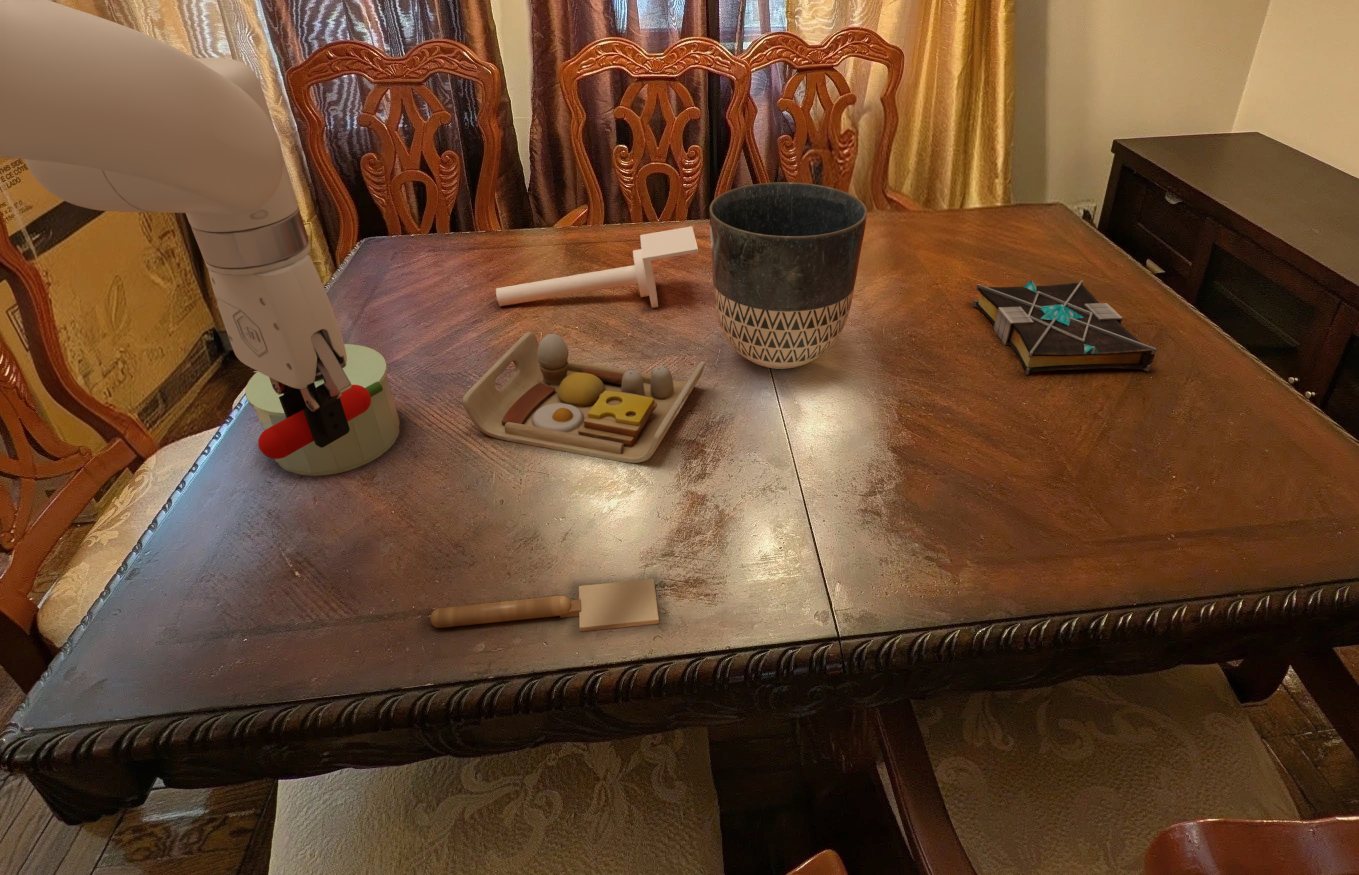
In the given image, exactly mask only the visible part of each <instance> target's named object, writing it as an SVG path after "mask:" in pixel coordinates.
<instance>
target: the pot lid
mask: <svg viewBox="0 0 1359 875" xmlns="http://www.w3.org/2000/svg"><path fill="white" fill-rule="evenodd" d="M344 346H345V350H346V355H347V364H346V366H345V367H344V368H342V369H343V370H344V372H345V374H346V376H347V377H348V379H349V381H350V382H351V385H360V386H362V387H364V388H366V387H368V386H369V385H371V384H373V383H375V382H379V383H380V384H381V382H382V381H383V380H384V378H385V376H386V374H387V373H388V364H387V361H386V359H385V358H384V356H383V355H382V354H381V353H380V352H378V351H377V350H375V349H373V348H371V347H368V346H364V345H361V344H360V345H359V344H354V343H353V344H352V343H344ZM316 367H317V366H316ZM323 383H324V380H323V378H321V379H319V380H317V381H315V382H314V384H315V386H316V387H317V386H319V385H321V384H323ZM282 395H284V394H281V395H278V394H277V393H276V392H275V391H274V389H273V387H272V384H271V381H270V378H269V377H268V376H266V375H264V374H262V373H260V372H258V371H256V372H255V373H254V374H253V375H252V377H250V378H249V380H248V382H247V384H246V386H245V397H246V399H247V401H248V404H249V405H250V406H251V407H252V408H254V410H255V409H256V410H258V411H260V412H263V413H266V414H269V415H275V416H283V417H286V416H285V413H284V410H283V408H282V405H281V402H280V400H279V397H280V396H282ZM256 410H255V411H256Z"/></svg>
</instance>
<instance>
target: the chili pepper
mask: <svg viewBox="0 0 1359 875" xmlns="http://www.w3.org/2000/svg"><path fill="white" fill-rule="evenodd" d="M382 390H383V387H382V385H381V384H380V383H379V382H375V383H373V384H371V385H369V386H368V387H366V388H364V387H362V386H360V385H352V388H351V389H349V390H347V391H345V392H344V393H342V397H340V400H341V403H342V406H343V409H344V412H345V415H346V418H347V422H348V421H350V420H351V419H353V418H355V417H357V416H359V415H360V414H362V413H364V412H365V411H366V410H367V409H368V408H369V406H370V404H371V397H372V396H374V395H376V394H378V393H379V392H381V391H382ZM257 440H258V442H257V443H258V449H259V450H260V452H261V453H262V455H264V456H265V457H267V458H269V459H272V460H275V459H281V458H284V457H286V456H288V455H290V454H292V453H293V452H295V451H297V450H299V449H300V448H302V447H304V446H306V445H307V444H309V443H311V442H313V441H314V439H313V436H312V434H311V431H310V428H309V425H308V422H307V420H306V417H305V414H304V411H303V410H301V411H300V412H298V413H296V414H294V415H292V416H290V417H288V418H286V419H285V420H283V421H281V422H279V423H277V424H275V425H273V426H271V427H269V428H268V429H266V430H263V431H262V432H261V433H260V434H259V437H258V439H257Z"/></svg>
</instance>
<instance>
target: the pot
mask: <svg viewBox="0 0 1359 875" xmlns="http://www.w3.org/2000/svg"><path fill="white" fill-rule="evenodd" d="M381 385H382V387H383V390H382V391H381V392H379V393H378V394H376V395H374V396H372V397H371V404H370V406H369V408H368V409H367V410H366V411H365V412H364V413H362V414H360V415H359V416H357V417H355V418H353V419H351V420H350V421H348V425H349V428H350V430H349V432H348V433H347V434H346V435H344V436H342V437H340V438H339V439H337V440H335V441H333V442H332V443H330V444H328V445H327V446H325V447H323V448H321V447H319V446H317V445H316V444H315V442H314V441H313V442H311V443H309V444H307V445H306V446H304V447H302V448H300V449H299V450H297V451H295V452H293V453H292V454H290V455H288V456H286V457H284V458H281V459H274V460H275V462H276V464H278V465H279V466H280V467H281V468H282V469H284V470H285V471H288V472H289V473H293V474H296V475H301V476H310V477H311V476H313V477H314V476H315V477H318V476H330V475H335V474H340V473H345V472H348V471H352V470H354V469H358V468H360V467H363V466H364V465H366V464H368V463H371V462H373V461H374V460H376V459H378V458H379V457H380V456H382V455H384V454H385V453H386V452H387V451H388V450H389V449H390V448H392V446H393V445H394V444H395V442H396V441H397V439H398V437H399V434H400V430H401V427H400V418H399V414H398V410H397V408H396V403H395V400H394V396H393V392H392V388H391V385H390V382H389V377H388V374H387V373H386V376H385V378H384V380H383V381H382V382H381ZM254 410H255V412H256V416H257V418H258V420H259V422H260V425H261V428H262V430H263V431H264V430H266V429H268V428H269V427H271V426H273V425H275V424H277V423H279V422H281V421H283V420H285V419H286V417H283V416H275V415H269V414H266V413H263V412H260V411H258V410H256V409H255V408H254Z"/></svg>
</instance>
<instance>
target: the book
mask: <svg viewBox="0 0 1359 875" xmlns="http://www.w3.org/2000/svg"><path fill="white" fill-rule="evenodd" d="M1083 284H1084V280H1083V279H1081V280H1080V281H1079V282H1073V283H1062V284H1061V283H1059V284H1050V285H1049V284H1047V285H1036V283H1035V282H1034V280H1032V279H1031V280H1029V281H1028V282H1027V283H1026V284H1024V285H1023V286H986V285H982V284H979V283H978V284H977V285H976V291H977V292H979V293H980V294H979V300H976V299H974V300H973V302H972V306H973V307H975V308H977V309H979V310H980V311H981V312H982V314H983V315H985V317H986V318H987V319H988V320H989V321H990V322H991V323H992V325H993V328H992V329H993V330H992V331H994V333H995V334H996V335H997V336H998V338H999V339H1000V340H1001V342H1002V343H1003V344H1004V346H1010V347H1011V348H1012V349H1013V350H1014V352H1015V353H1016V355H1017V357H1018V358H1019V361H1020V362H1021V364H1022V366H1023V368H1024V370H1025V373H1024V374H1025V375H1027V376H1028V375H1029V374H1030V373H1035V372H1036V373H1037V372H1050V371H1051V372H1052V371H1066V370H1069V371H1071V370H1095V369H1096V370H1097V369H1099V370H1100V369H1130V370H1132V369H1136V370H1138V369H1139V370H1143V371H1145V372H1150V370H1151V367H1152V364H1153V362H1154V359H1155V354H1156V352H1157V348H1156V347H1154V346H1151V345H1148V344H1145V343H1143V342H1142V341H1141V340H1140V339H1138V338H1137V337H1136V336H1135V335H1134V334H1133V333H1131V332H1130V331H1129V330H1127V329H1126V328H1125V327H1124V325H1122V322H1123V319H1124V318H1123V316H1121V315H1120V314H1119V313H1118V312H1117V310H1115V309H1114V307H1112V306H1110V304H1109V303H1108V302H1099V301H1098V300H1097V299H1096V298H1095V296H1094V295H1093V294H1092V293H1091V292H1090V291H1089V290H1088V289H1087V287H1086V286H1085V284H1084V285H1083Z"/></svg>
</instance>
